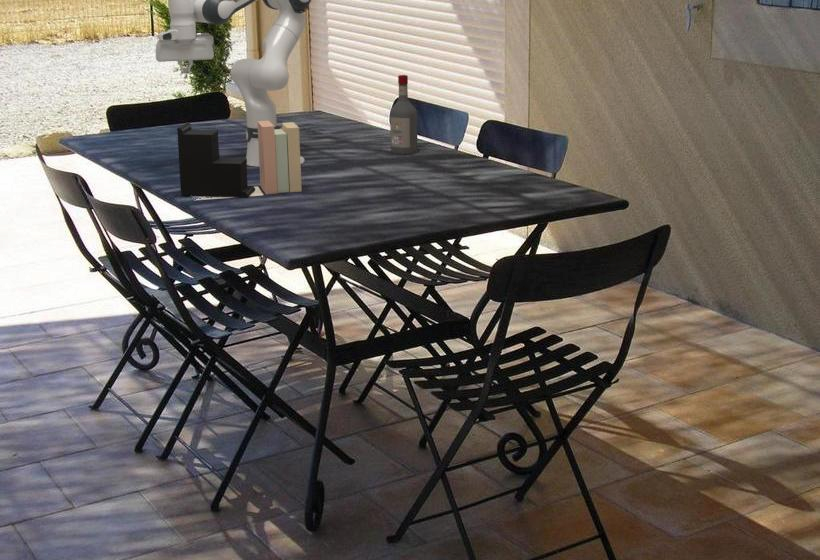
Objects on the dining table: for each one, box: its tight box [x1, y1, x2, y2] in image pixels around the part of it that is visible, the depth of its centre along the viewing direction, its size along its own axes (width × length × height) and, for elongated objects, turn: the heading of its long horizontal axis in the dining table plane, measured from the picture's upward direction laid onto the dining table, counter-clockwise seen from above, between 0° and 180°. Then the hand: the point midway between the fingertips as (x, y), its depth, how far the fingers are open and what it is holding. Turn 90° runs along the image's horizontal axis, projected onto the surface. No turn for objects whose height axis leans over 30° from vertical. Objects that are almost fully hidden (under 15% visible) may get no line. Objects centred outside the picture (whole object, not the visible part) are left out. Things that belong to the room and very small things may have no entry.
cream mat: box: [195, 186, 264, 201], centre depth 414 cm, size 24×14×1 cm, turn 105°
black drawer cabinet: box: [176, 121, 255, 198], centre depth 411 cm, size 23×11×24 cm, turn 83°
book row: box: [257, 121, 303, 195], centre depth 416 cm, size 12×12×23 cm
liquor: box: [389, 74, 419, 156], centre depth 474 cm, size 9×9×30 cm
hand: (186, 73), depth 431 cm, fingers closed
